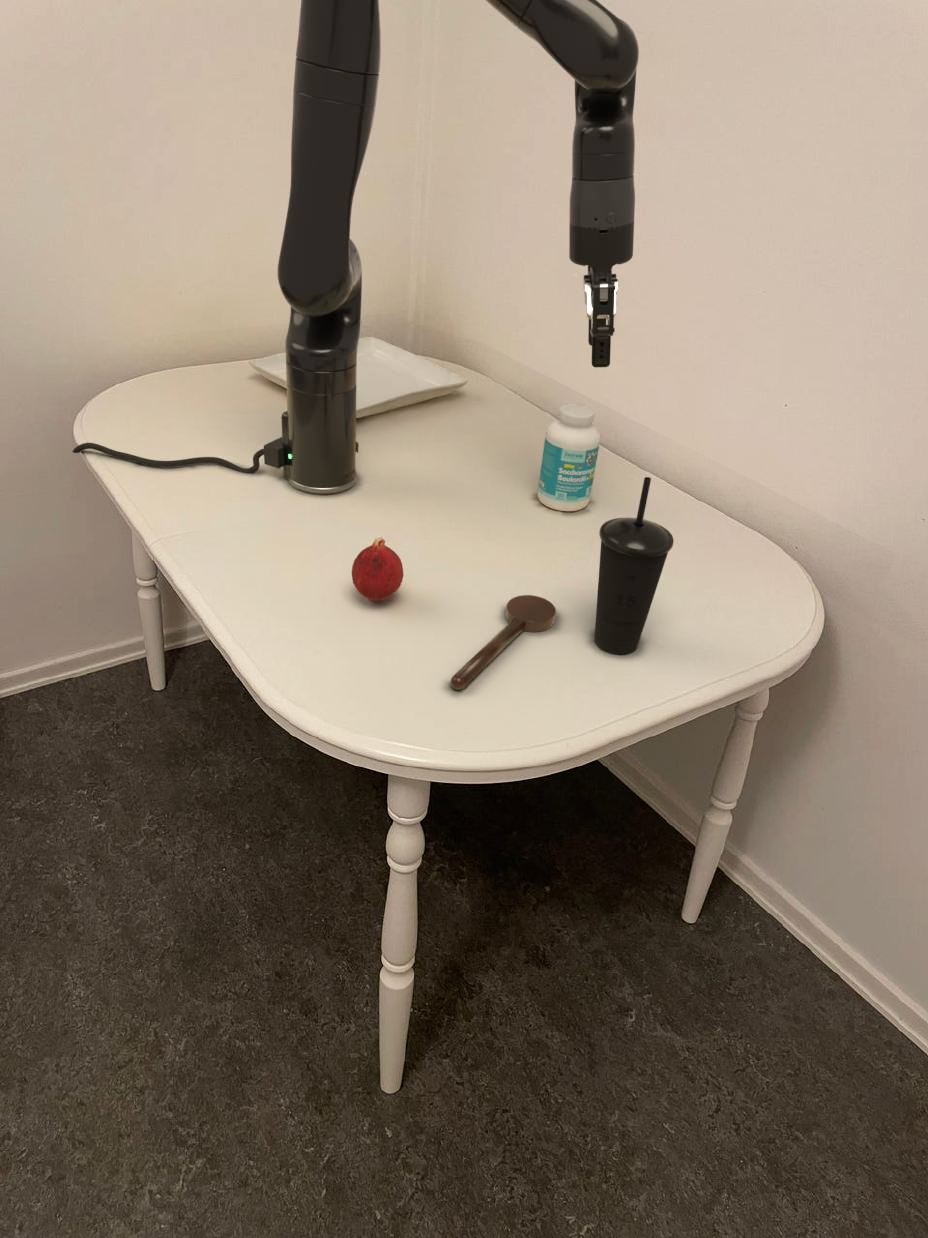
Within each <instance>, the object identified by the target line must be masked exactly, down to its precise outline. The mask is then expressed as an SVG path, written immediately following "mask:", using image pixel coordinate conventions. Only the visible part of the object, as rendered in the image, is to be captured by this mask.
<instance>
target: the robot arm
mask: <svg viewBox="0 0 928 1238" xmlns="http://www.w3.org/2000/svg"><path fill="white" fill-rule="evenodd" d="M485 2H487V4H488V5H490V6H491V7H492V8H493V9H494V10H495V11H496V12H498V13H499V14H500V15H501V16H503V17H504V18H505V19H506V20H507V21H509V22H510V23H511V24H512V25H513V26H514V27H516V28H517V29H518V30H519V31H521V33H523V34H524V35H526V36H527V37H529V38H530V39H532V40H533V41H535V42H536V43H537V44H539V46H541V48H542V49H543V50H544V51H545V52H546V53H547V54H548V55H549V56H550V57H551V58H552V59H553V60H554V61H555V62H556V63H557V64H558V65H559V66H560V67H561V68H562V69H563V70H564V71H565V72H566V73H567V74H568V75H569V76H570V77H571V78H572V79H573V80H574V113H575V123H574V127H573V133H572V145H571V185H570V193H569V222H568V223H569V227H568V229H569V230H568V231H569V234H568V235H569V237H568V239H569V240H568V241H569V242H568V243H569V245H568V247H569V249H568V253H569V255H568V257H569V260H570V261H571V263H573V264H575V265H578V266H583V267H585V266H587V274H583V277H582V279H583V280H582V281H583V283H582V285H583V291H584V304H585V305H586V318H587V319H588V330H587V331H588V336H587V337H588V339H587V341H588V346H591V365H592V367H593V368H608V367H609V366H610V365H611V348H612V347H611V345H612V344H611V343H612V342H611V341H612V340H611V339H612V336H614V333H615V332H616V331H615V330H616V329H615V327H614V324H615V317H616V314H617V295H618V291H619V280H618V278H617V273H613V267H614V266H616V265H623V264H626V263H628V262H629V261H631V260H632V259H633V256H634V239H635V238H634V237H635V236H634V235H635V214H636V213H635V211H636V190H635V189H636V188H635V176H634V175H635V158H636V157H635V156H636V155H635V154H636V149H635V148H636V137H635V136H636V135H635V125H634V109H635V97H636V86H637V85H636V83H637V70H638V64H639V59H640V48H639V43H638V39H637V35H636V34H635V31H634V30H633V28H632V27H631V26H630V25H629V24H628V23H627V22H626V21H624V20H623V19H621V18H619V17H618V16H617V15H616V14H614V13H612V11H610V10H609V9H608V8H607V7H605V6H604V5H603V4H602V3H600V1H598V0H485ZM380 14H381V12H380V1H379V0H300V10H299V19H298V32H297V33H298V34H297V41H296V49H295V50H296V51H295V61H294V62H295V63H294V64H295V65H294V76H293V90H292V119H291V138H290V139H291V140H290V188H289V199H288V206H287V211H286V218H285V224H284V230H283V235H282V242H281V247H280V251H279V256H278V262H277V270H276V271H277V281H278V286H279V289H280V291H281V294H282V296H283V298H284V299H285V301H286V302H287V303H288V305H289V306H290V314H289V322H288V323H289V324H288V328H287V333H286V337H285V342H284V343H285V344H284V345H285V346H284V348H285V352H286V383H287V389H286V411H284V412H282V414H281V418H280V419H281V436H280V437H278V438H275V439H274V440H272V441H270V442H267V443H266V444H264V445H263V448H261V449H259V450H257V451H256V452H254V454H253V457H252V463H253V465H252V466H250V467H248V468H247V467H245V468H244V467H240V466H239V465H236V464H234V463H233V462H231V461H229V460H227V459H224V458H221V457H216V456H198V457H191V458H189V457H188V458H183V459H177V460H158V459H150V458H145V457H142V456H139V455H134V454H131V453H128V452H122V451H119V450H115V449H112V448H109V447H106V446H104V445H102V444H99V443H94V442H83V443H81V444H79V445H77V446H75V448H73V450H71V451H72V452H71V453H73V454H79V453H81V452H83V451H84V450H94V451H98V452H101V453H103V454H106V455H109V456H111V457H115V458H117V459H123V460H126V461H131V462H134V463H137V464H141V465H145V466H150V467H156V468H172V467H173V468H177V467H184V466H190V465H191V466H192V465H196V464H197V465H198V464H216V465H221V466H223V467H225V468H228V469H229V470H231V471H235V472H239V473H242V474H251V475H252V474H254V473H255V472H257V471H258V470H259V469H260V466H261V465H260V459H261V457H262V456H263V461H264V463H263V464H264V465H267V466H269V467H272V468H275V469H277V470H278V469H280V468H281V469H282V476H283V479H286V480H288V482H289V484H290V485H291V486H292V487H294V488H295V489H297V490H300V491H302V492H304V493H305V492H306V493H309V494H316V495H317V494H318V495H320V494H321V495H328V494H336V493H341V492H344V491H346V490H349V489H351V488H352V487H353V486H354V485H355V484H356V482H357V472H356V466H357V465H356V462H357V459H356V457H357V456H356V455H357V454H359V442H357V418H356V377H357V347H358V341H359V338H360V335H361V325H362V324H361V323H362V322H361V320H362V295H363V294H362V292H363V290H362V289H363V268H362V260H361V259H362V258H361V255H360V252H359V250H358V248H357V246H356V245H355V243H354V242H353V240H352V239H351V220H352V219H351V218H352V209H353V202H354V197H355V192H356V188H357V183H358V180H359V177H360V174H361V171H362V167H363V164H364V161H365V158H366V157H365V156H366V153H367V150H368V146H369V142H370V137H371V133H372V129H373V123H374V120H375V119H374V118H375V113H376V106H377V99H378V98H377V97H378V92H379V91H378V89H379V83H380V71H381V62H382V61H381V60H382V59H381V56H382V37H381V36H382V33H381V31H382V29H381V15H380Z"/></svg>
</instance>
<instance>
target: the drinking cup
mask: <svg viewBox="0 0 928 1238" xmlns="http://www.w3.org/2000/svg"><path fill="white" fill-rule="evenodd" d="M651 482H652V478H651V477H649V476H645V477H644V478H643V483H642V488H641V494H640V499H639V504H638V507H637V508H638V509H637V513H636V517H617V518H612V519H609V520H606V521H605V522H604V523H602V525H601V526H600V527H599V531H598V532H599V533H598V535H599V539H600V553H599V554H600V555H599V568H598V581H597V594H596V595H597V597H596V610H595V624H594V625H595V626H594V639H593V640H594V643H595V646H597V647H598V648H599V649H600V650H602V651H604V652H606V653H608V654H611V655H617V656H626V655H630V654H633V653H634V652H635V651H636V650H637V649H638V648H639V647H638V646H639V644H640V640H641V637H642V633H643V631H644V628H645V625H646V621H647V619H648V616H649V613H650V610H651V606H652V604H653V600H654V597H655V594H656V590H657V588H658V586H659V585H658V584H659V581H660V578H661V576H662V572H663V569H664V566H665V563H666V560H667V557H668V554H669V552H670V551H671V550H672V549H673V546H674V542H675V540H674V536H673V534H672V533H671V531H670V530H668V529H667V528H665V526H662V525H661V524H658V523H656V522H654V521H651V520H647V519H644V518H645V512H646V507H647V503H648V502H647V501H648V497H649V491H650V486H651Z"/></svg>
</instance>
